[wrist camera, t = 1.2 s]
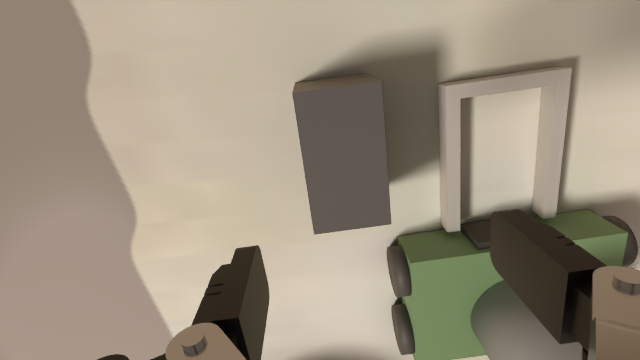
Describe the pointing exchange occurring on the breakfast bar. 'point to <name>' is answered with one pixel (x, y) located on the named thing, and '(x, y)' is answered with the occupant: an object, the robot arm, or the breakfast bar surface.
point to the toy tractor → (474, 244)
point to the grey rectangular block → (344, 151)
